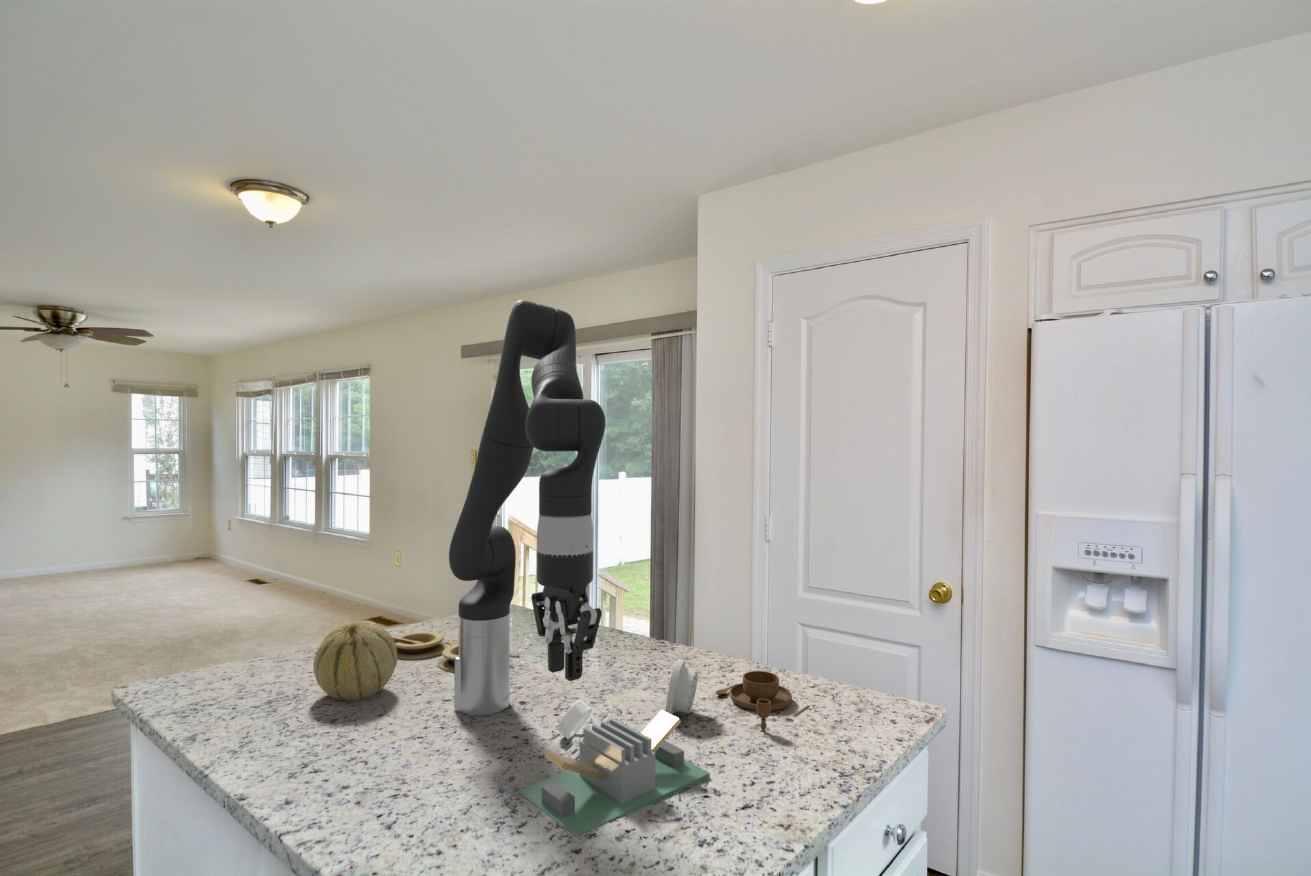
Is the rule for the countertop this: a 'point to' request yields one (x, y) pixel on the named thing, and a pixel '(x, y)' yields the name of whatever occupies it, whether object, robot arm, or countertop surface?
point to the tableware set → (429, 648)
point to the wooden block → (661, 728)
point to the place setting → (760, 695)
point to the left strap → (575, 765)
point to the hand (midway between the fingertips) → (564, 674)
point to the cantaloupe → (355, 660)
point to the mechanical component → (681, 689)
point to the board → (605, 804)
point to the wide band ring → (575, 723)
